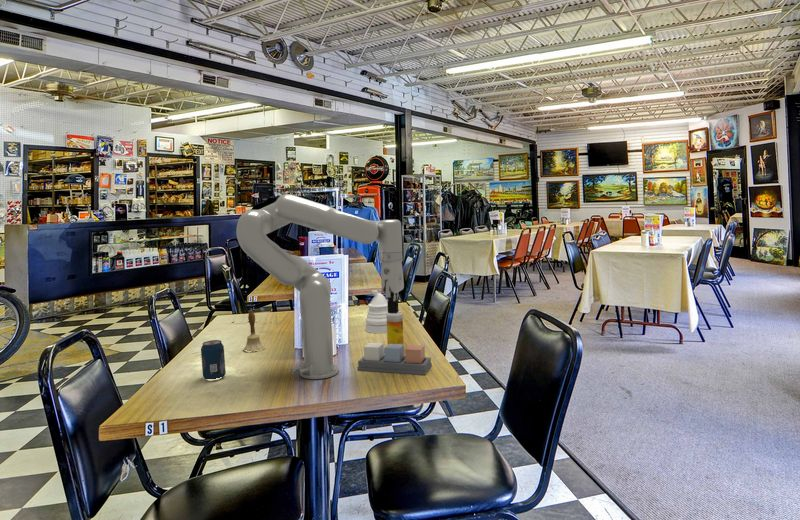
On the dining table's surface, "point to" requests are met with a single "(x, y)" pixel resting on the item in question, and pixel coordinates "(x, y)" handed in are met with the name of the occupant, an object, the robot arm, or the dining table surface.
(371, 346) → the ivory key
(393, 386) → the dining table surface
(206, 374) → the soda can
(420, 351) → the terracotta key
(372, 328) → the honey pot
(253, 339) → the hand bell
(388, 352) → the blue key
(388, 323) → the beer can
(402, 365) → the grey flat block
